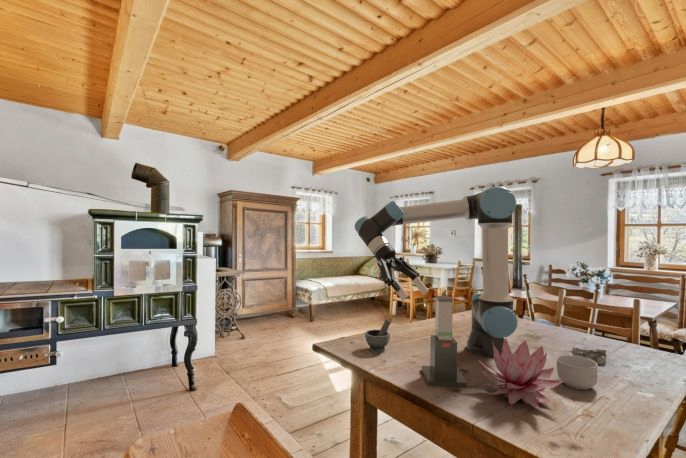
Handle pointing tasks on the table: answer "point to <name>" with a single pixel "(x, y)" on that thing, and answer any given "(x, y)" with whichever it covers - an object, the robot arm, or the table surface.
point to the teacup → (577, 371)
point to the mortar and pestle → (378, 338)
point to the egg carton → (591, 354)
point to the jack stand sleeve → (443, 365)
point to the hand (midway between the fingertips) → (416, 295)
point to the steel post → (443, 318)
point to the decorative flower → (522, 374)
